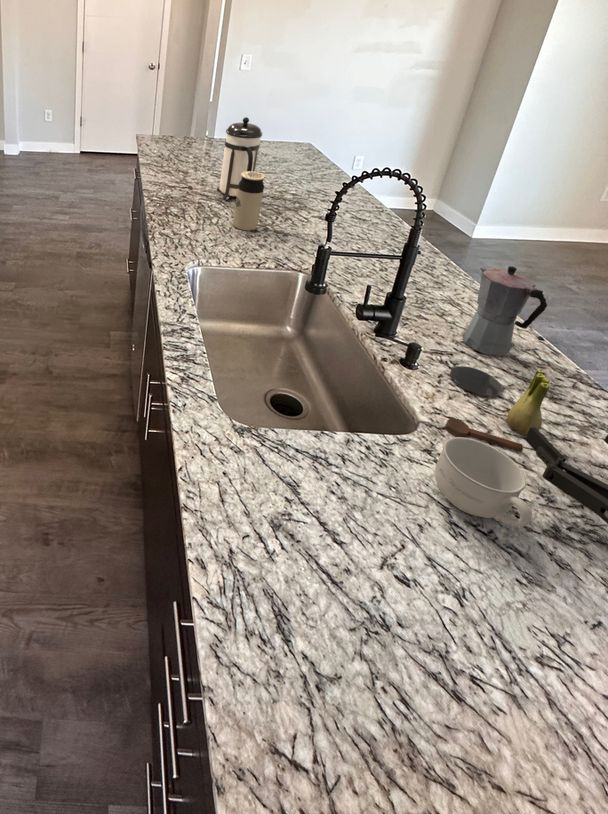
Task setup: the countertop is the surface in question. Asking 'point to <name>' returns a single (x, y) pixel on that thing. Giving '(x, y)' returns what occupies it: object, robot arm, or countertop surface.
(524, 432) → the fennel bulb
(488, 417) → the countertop surface
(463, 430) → the wooden spoon
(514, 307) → the moka pot
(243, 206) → the travel mug
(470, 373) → the slate coaster
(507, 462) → the teacup
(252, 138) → the coffee press
